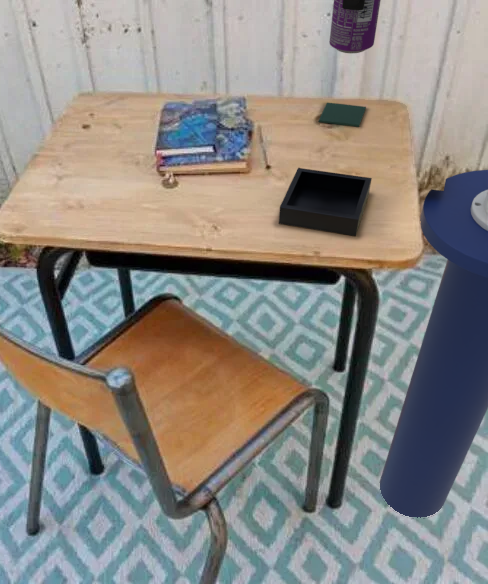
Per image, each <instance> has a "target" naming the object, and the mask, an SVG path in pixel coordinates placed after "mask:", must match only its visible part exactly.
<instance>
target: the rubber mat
mask: <svg viewBox="0 0 488 584" xmlns="http://www.w3.org/2000/svg"><path fill="white" fill-rule="evenodd" d="M366 110H367V106H363V105H362V106H361V105H355V104H345V103H335V102H326V104H325V106H324V108H323V111H322V112H321V115H320V117H319V119H318V123H324V124H330V125H339V126H347V127H348V126H349V127H356V128H359V127H360V125H361V122H362V121H363V117H364V114H365V112H366Z"/></svg>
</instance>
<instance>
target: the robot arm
mask: <svg viewBox="0 0 488 584" xmlns="http://www.w3.org/2000/svg"><path fill="white" fill-rule="evenodd" d="M364 4H365V0H343V4H342V8H343V9H347V10H363V8H364ZM471 215H472V217H473V219H474V220H475V221H476V222H477V224H478V225H480V226H481V227H482V228H483V229H485V230H487V231H488V190H486V191H483V192H481V193H480V194H478V195H477V196H476V197H475V198H474V200H473V202H472V205H471Z"/></svg>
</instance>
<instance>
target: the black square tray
mask: <svg viewBox="0 0 488 584" xmlns="http://www.w3.org/2000/svg"><path fill="white" fill-rule="evenodd" d="M372 178H373V177H368V176H360V175H353V174H346V173H339V172H333V171H332V172H331V171H324V170H316V169H310V168H303V167H298V168H297V169H296V171H295V174H293V177H292V180H291V182H290V184H289V186H288V189H287V191H286V192H285V194H284V197H283V199H282V201H281V203H280V206H279V213H278V224H279V225H284V226H290V227H296V228H302V229H309V230H315V231H321V232H327V233H331V234H339V235H344V236H351V237H356V236H357V233H358V231H359V228H360V225H361V221H362V218H363V215H364V212H365V208H366V205H367V202H368V199H369V196H370V191H371V186H372V185H371V184H372V180H373V179H372Z"/></svg>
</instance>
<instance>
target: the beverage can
mask: <svg viewBox="0 0 488 584" xmlns="http://www.w3.org/2000/svg"><path fill="white" fill-rule="evenodd" d="M342 4H343V0H333V5H332V6H333V7H332V15H331V22H330V23H331V24H330V33H329V45H330V46H331V47H332V48H333V49H335V50H336V51H338V52H340V53H344V54H360V53H363V52H365V51H366V50H369V49H371V48H372V47H373V46H374V45H375V40H376V39H375V38H376V32H377V26H378V20H379V13H380V6H381V0H365V4H364V8H363V10H347V9H343V8H342Z"/></svg>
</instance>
